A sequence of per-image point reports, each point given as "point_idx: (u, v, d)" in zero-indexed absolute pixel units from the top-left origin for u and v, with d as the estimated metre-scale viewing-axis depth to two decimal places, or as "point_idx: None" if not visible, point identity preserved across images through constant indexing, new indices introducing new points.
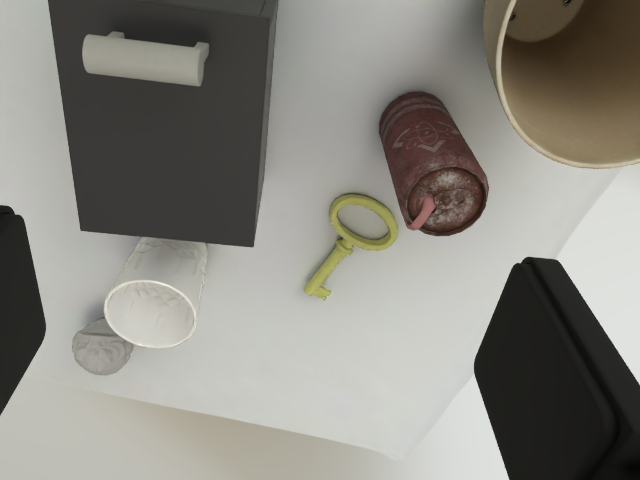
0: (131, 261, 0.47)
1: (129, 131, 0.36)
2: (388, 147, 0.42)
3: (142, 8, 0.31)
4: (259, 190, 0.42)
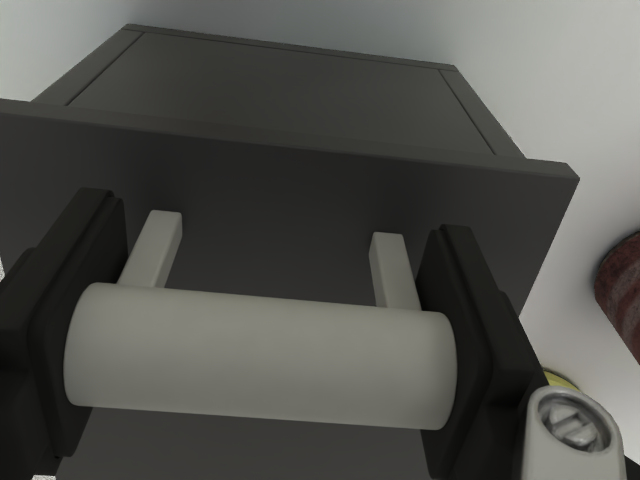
0: None
1: None
2: None
3: (236, 156, 0.11)
4: None
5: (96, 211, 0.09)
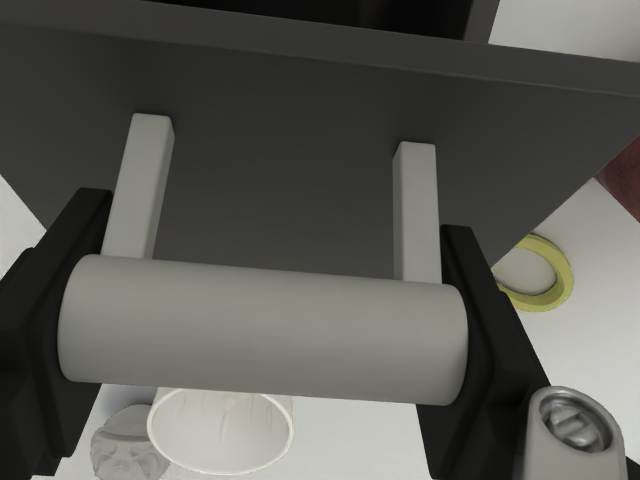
0: None
1: (195, 248, 0.16)
2: (631, 162, 0.25)
3: (230, 65, 0.09)
4: None
5: (95, 211, 0.09)
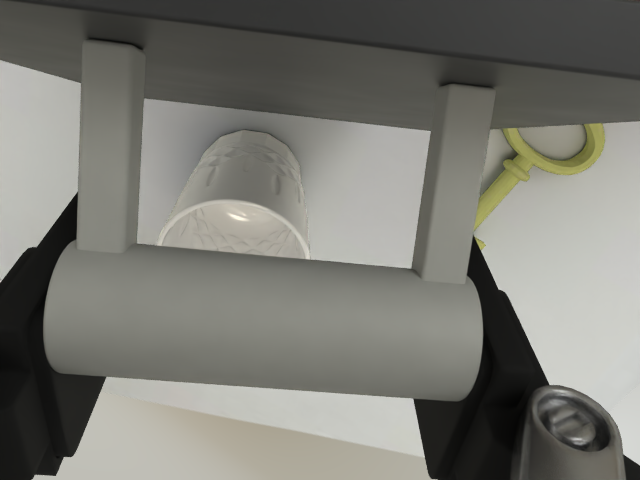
0: (197, 178, 0.28)
1: (197, 87, 0.13)
2: None
3: (204, 32, 0.06)
4: None
5: None
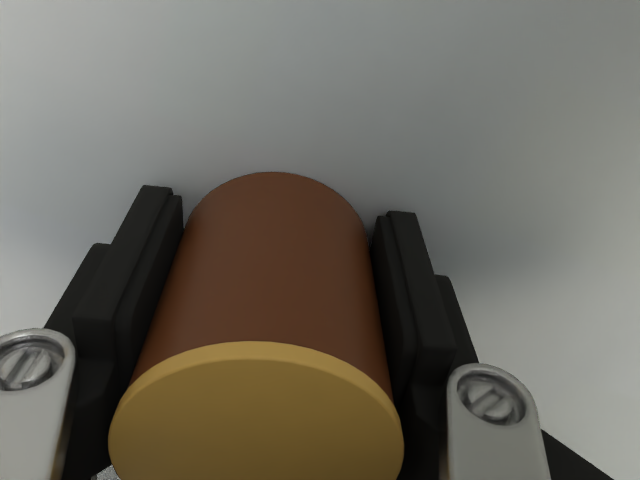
0: None
1: None
2: None
3: None
4: None
5: (161, 208, 0.10)
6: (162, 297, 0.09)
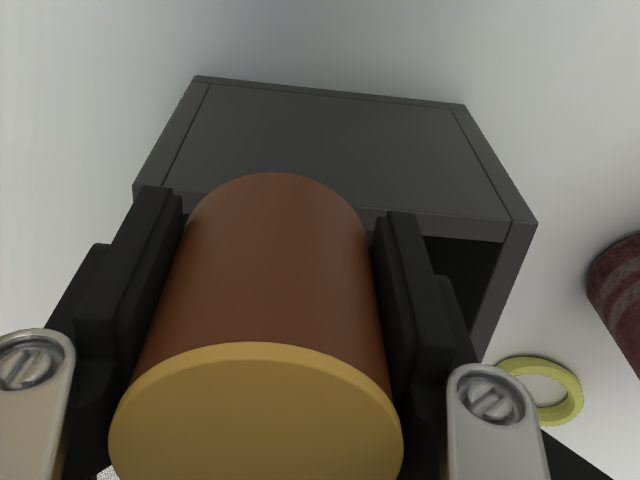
0: None
1: None
2: None
3: None
4: None
5: (161, 208, 0.10)
6: (162, 297, 0.09)
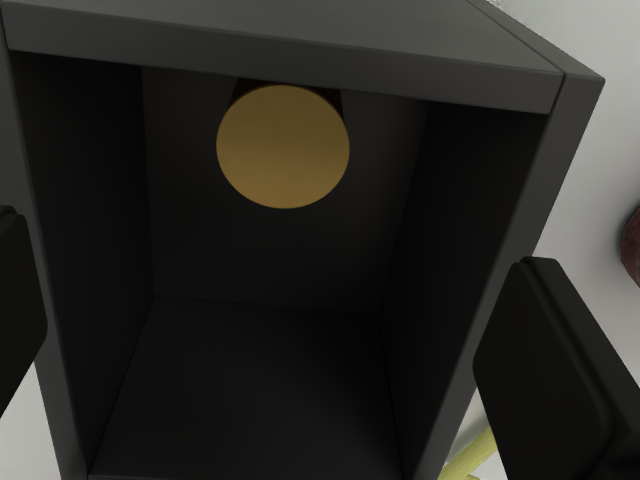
0: None
1: None
2: None
3: None
4: None
5: None
6: (234, 92, 0.18)
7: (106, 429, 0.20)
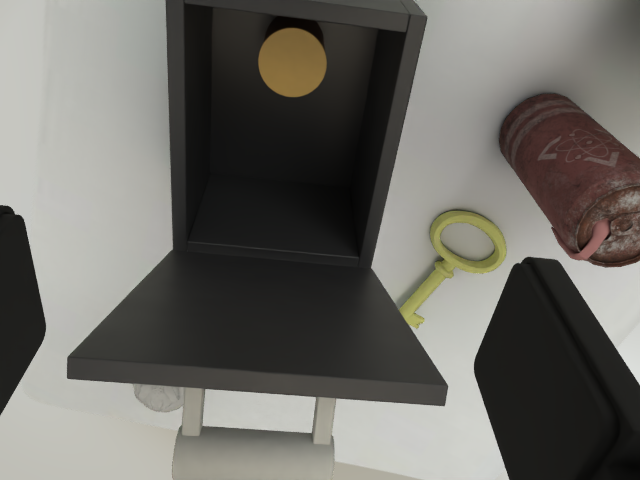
0: None
1: None
2: (528, 158, 0.35)
3: None
4: None
5: None
6: (266, 35, 0.33)
7: (193, 225, 0.35)
